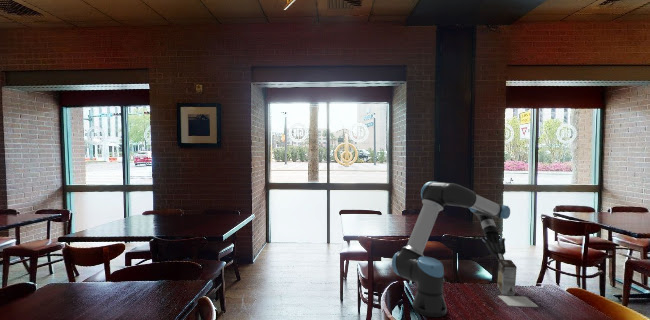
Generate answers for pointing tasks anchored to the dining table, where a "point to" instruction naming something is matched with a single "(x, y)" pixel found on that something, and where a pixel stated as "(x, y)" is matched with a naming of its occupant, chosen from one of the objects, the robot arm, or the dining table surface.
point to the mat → (517, 301)
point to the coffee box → (506, 277)
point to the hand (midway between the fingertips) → (502, 265)
